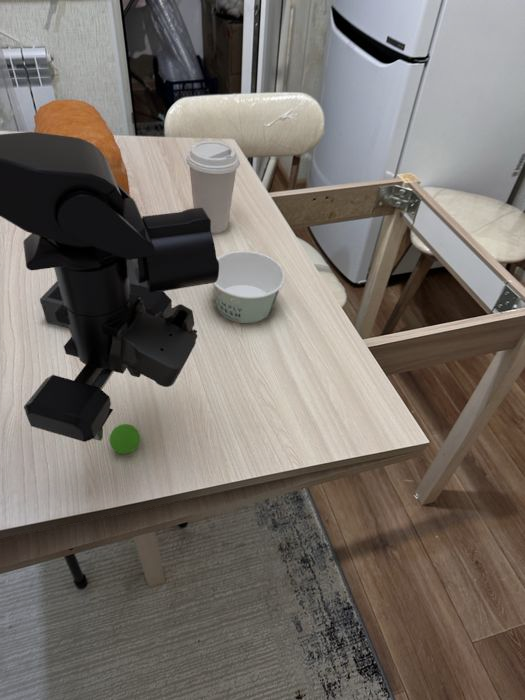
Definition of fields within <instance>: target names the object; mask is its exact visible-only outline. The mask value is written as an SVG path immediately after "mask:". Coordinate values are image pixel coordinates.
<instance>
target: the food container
mask: <svg viewBox="0 0 525 700" xmlns="http://www.w3.org/2000/svg"><path fill="white" fill-rule="evenodd" d="M216 258H217V260H218V262H219V275H218V279H217V281H216V282H215V283H212V286H213V293H214V297H215V303H216V308H217V310H218V312H219V313H220V314H221V315H222V316H223V317H224V318H226V319H227V320H230V321H232V322H236V323H239V324H253V323H258V322H261V321H263V320H265V319H266V318H267V317H268V316H270V314H271V313H272V310H273V307H274V305H275V302H276V299H277V297H278V295H279V292H280V290H281V289H282V288H283V286H284V285H285V282H286V272H285V270H284V268H283V266H282V265H281V264H280V263H279V262H278V261H277V260H276V259H274V258H272V257H271V256H268V255H266V254H264V253H261V252H257V251H250V250H237V251H236V250H235V251H230V252H226V253H224V254H222V255H219V256H218V257H216Z"/></svg>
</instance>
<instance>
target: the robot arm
mask: <svg viewBox="0 0 525 700" xmlns="http://www.w3.org/2000/svg"><path fill="white" fill-rule="evenodd" d="M0 217H1V218H2V219H4V220H5V221H8V222H9V223H10V224H13V225H14V226H16V227H18V228H19V229H21V230H22V231H24V232H26V233H28V234H29V233H30V234H29V235H28V236H27V237H26V238H25V239H24V240H23V243H22V244H23V252H24V259H25V260H24V261H25V267H26V269H28V271H39V270H46V269H47V270H48V269H54V272H55V277H56V282H57V281H58V285H59V289H60V293H61V297H62V300H63V304H62V305H61V306H60V307H59V308H58V310H57V311H56V312H55V317H56V320H57V322H60V323H64V324H68V325H69V328H68V329H69V332H70V336H71V337H70V338H69V339H68V340H67V341H66V343H65V344H64V345H63V349H64V352H65V353H64V354H65V355H68V356H71V357H76V358H78V360H79V361H80V362H81V363H82V364H84V367H83V368H82V369H81V370H80V372H79V373H78V375H77V376H76V377H75V378H74V380H73V379H69V378H65V377H62V376H59V375H56V374H52V375H50V376H48V377H47V378H45V379H44V381H43V382H42V383H41V384H40V386H39V387H38V388H37V389H36V391H35V392H34V393H33V394H32V396H31V397H30V398H29V400H27V402H26V403H25V405H24V406H23V409H24V412H25V416H26V418H27V420H28V422H29V425H30V427H32V428H35V429H39V430H43V431H46V432H49V433H52V434H56V435H58V436H63V437H66V438H70V439H73V440H77V441H80V442H84V443H86V442H89V441H92V440H95V441H100V442H101V441H102V440H103V438H104V437H103V436H104V429H103V428H104V426H105V424H106V423H107V421H108V419H109V417H110V416H111V414H112V413H113V412H114V408H111V406H112V402H111V397H110V396H109V395H108V394H107V393H106V392H105V391H104V390H103V389H104V387H106V384H107V383H108V381H109V380H110V378H111V377H112V375H113V374H114V372H115V373H118V374H122V375H123V374H124V373H125V371H126V370H127V371H128V373H129V375H130V376H131V377H135V378H140V377H141V376H144V377H146V378H148V379H150V380H151V381H154V382H155V383H156V384H157V385H159V386H160V387H165V388H169V387H171V386H173V385H174V384H175V383H176V381H177V379H178V377H179V376H180V373H181V372H182V370H183V369H184V366H185V364H186V363H187V361H188V359H189V357H190V355H191V353H192V351H193V349H194V348H195V346H196V344H197V343H196V341H197V338H198V334H197V333H198V330H196V329H194V327H195V317H194V311H193V309H191V308H189V307H187V306H185V305H183V304H181V303H179V304H177V305H175V306H173V303H172V299H171V298H170V296H169V295H167V293H165V292H166V291H172V290H179V289H185V288H191V287H196V286H202V285H208V284H213V283H215V282H216V281H217V279H218V275H219V262H218V260H217V258H218V257H217V252H216V245H215V240H214V237H213V234H212V233H211V220H210V218H209V217H208V215H207V213H206V211H205V210H204V209H203V208H194V207H193V208H188V209H185V210H183V211H177V212H169V213H161V214H160V213H159V214H153V215H143V216H142V215H141V213H140V210H139V207H138V205H137V202H136V201H135V200H134V198H133V197H132V196H131V195H130V196H129V195H128V194H127V193H126V192H125V191H124V190H123V189H122V188H121V187H120V186H119V185H118V184H117V183H116V181H115V178H114V175H113V173H112V170H111V168H110V165H109V163H108V162H107V160H106V158H105V157H104V155H103V154H102V153H101V151H100V150H99V149H98V148H97V147H96V146H94V145H93V144H92V143H90V142H88V141H85V140H83V139H80V138H75V137H68V136H60V135H52V134H44V133H36V132H34V131H24V132H14V133H13V132H12V133H0ZM126 259H128V260H131V259H132V262H133V266H134V271H135V275H136V278H137V281H138V283H145V282H146V281H147V286H148V288H147V287H143V286H139V285H135V284H131V283H129V276H128V268H127V260H126Z"/></svg>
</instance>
